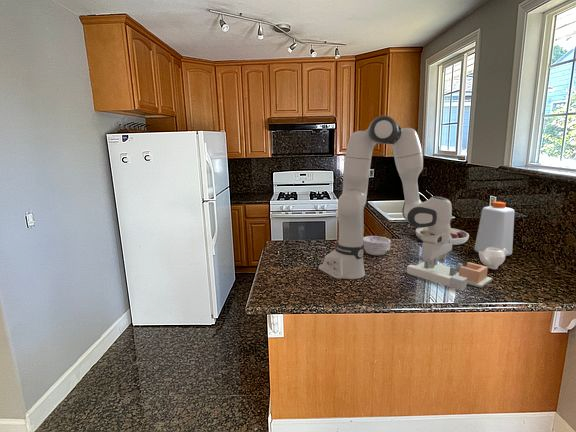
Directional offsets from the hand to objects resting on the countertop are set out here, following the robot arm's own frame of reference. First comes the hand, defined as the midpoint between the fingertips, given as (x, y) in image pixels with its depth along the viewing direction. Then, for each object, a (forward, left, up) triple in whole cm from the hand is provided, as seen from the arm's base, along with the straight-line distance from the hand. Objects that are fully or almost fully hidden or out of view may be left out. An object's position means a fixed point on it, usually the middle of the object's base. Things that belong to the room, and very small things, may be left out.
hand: (436, 265), depth 148 cm
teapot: (+10, +36, -7) cm, 38 cm away
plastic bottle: (+2, +60, -7) cm, 60 cm away
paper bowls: (-40, +12, -7) cm, 42 cm away
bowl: (-29, +65, -8) cm, 71 cm away
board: (+1, +13, -7) cm, 14 cm away
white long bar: (0, 0, -7) cm, 7 cm away
